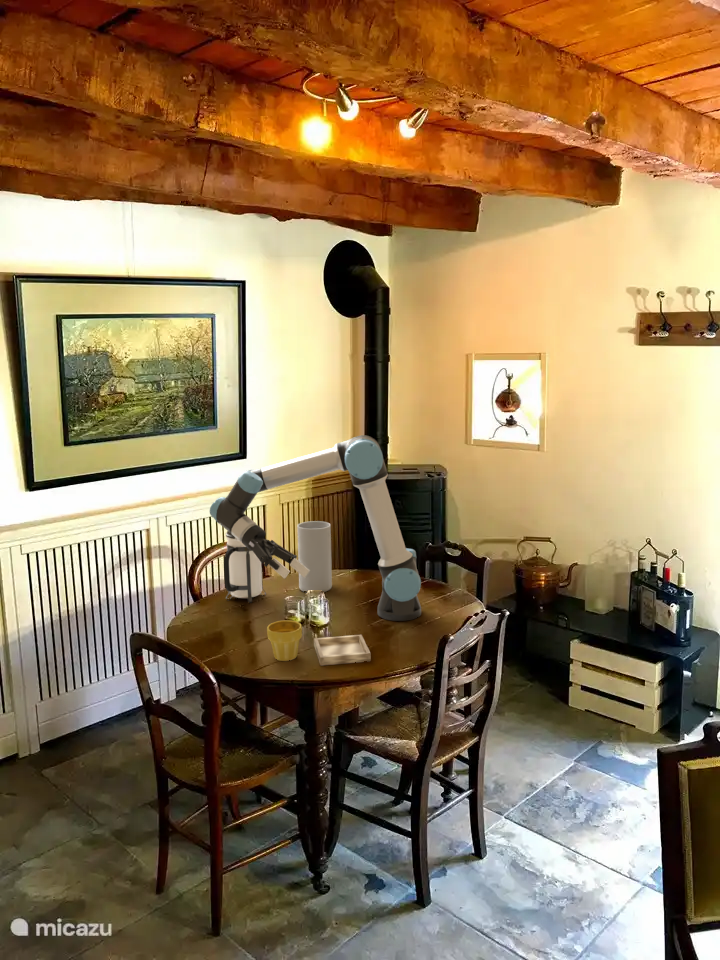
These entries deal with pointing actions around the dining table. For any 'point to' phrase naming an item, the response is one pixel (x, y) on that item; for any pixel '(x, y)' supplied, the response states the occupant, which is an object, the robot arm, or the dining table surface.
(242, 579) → the coffee press
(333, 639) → the birch tray
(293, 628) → the plant pot
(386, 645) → the dining table surface
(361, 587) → the dining table surface
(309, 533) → the cylinder vase
